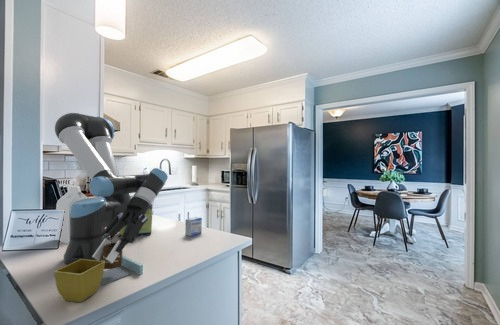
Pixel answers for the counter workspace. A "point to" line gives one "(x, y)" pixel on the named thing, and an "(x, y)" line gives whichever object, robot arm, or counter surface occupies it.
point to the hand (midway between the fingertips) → (102, 259)
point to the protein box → (146, 227)
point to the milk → (68, 209)
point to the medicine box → (193, 226)
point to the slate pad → (113, 275)
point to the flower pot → (79, 279)
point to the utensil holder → (107, 251)
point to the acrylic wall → (132, 265)
